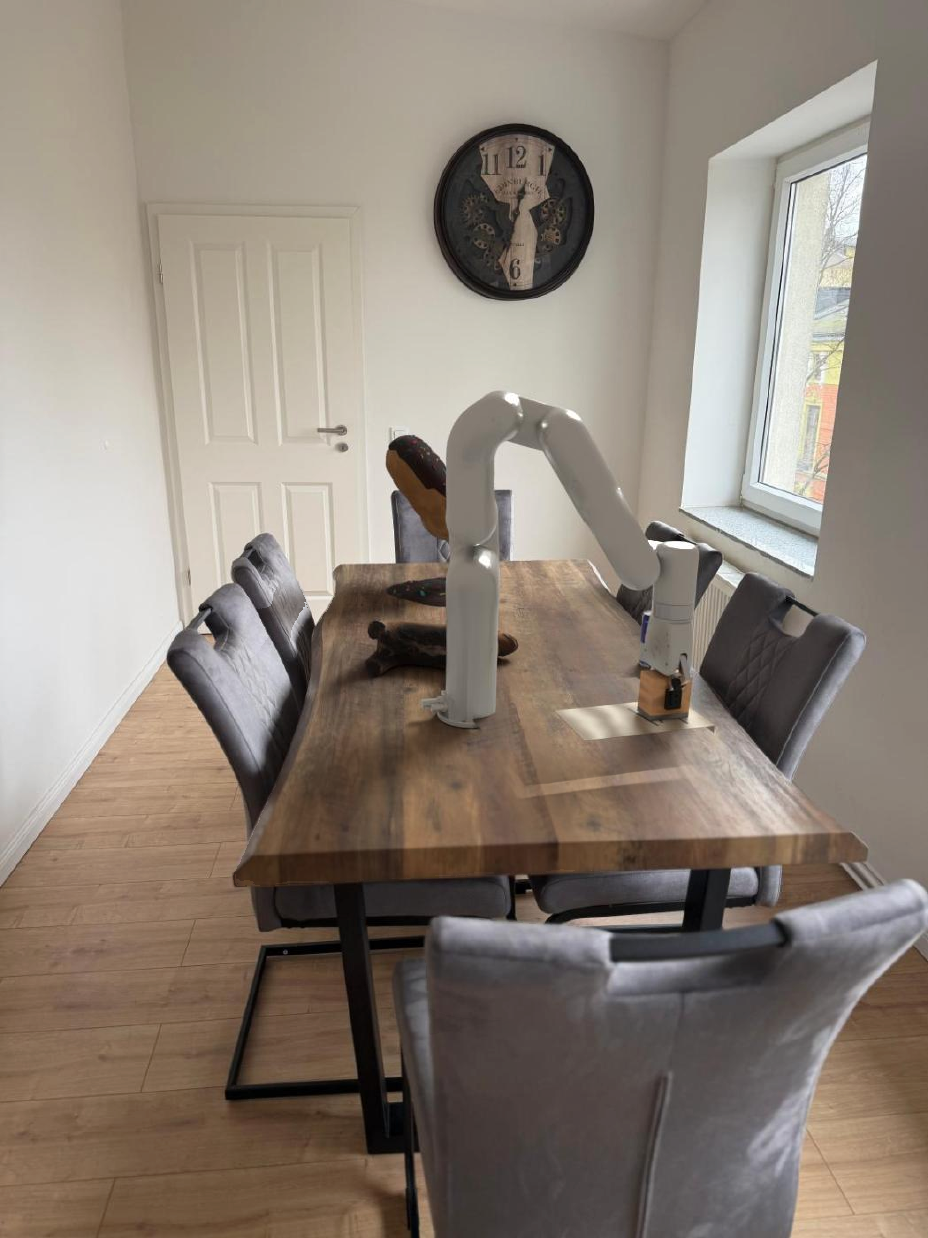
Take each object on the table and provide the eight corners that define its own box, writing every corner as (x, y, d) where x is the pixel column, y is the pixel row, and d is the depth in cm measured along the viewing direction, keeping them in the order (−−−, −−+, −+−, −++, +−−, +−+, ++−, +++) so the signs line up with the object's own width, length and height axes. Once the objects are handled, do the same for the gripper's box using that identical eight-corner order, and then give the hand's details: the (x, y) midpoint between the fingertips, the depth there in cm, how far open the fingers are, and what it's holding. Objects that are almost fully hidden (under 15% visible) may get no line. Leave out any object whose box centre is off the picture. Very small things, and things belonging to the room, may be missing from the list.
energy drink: (645, 669, 193) (649, 617, 190) (634, 661, 198) (638, 610, 194) (667, 667, 194) (671, 615, 191) (655, 659, 199) (660, 609, 196)
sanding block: (649, 720, 161) (653, 679, 159) (637, 710, 165) (640, 670, 163) (688, 717, 163) (692, 676, 161) (674, 707, 168) (678, 668, 165)
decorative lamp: (460, 575, 275) (462, 429, 262) (508, 600, 247) (513, 438, 234) (370, 583, 263) (368, 431, 250) (409, 611, 234) (409, 441, 222)
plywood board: (584, 748, 153) (584, 740, 153) (553, 718, 166) (554, 710, 165) (714, 733, 160) (715, 725, 160) (675, 705, 173) (675, 697, 173)
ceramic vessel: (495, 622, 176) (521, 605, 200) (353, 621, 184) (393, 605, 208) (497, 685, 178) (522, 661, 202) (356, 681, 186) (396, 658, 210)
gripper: (632, 599, 165) (625, 689, 170) (678, 624, 150) (669, 723, 155) (667, 597, 167) (660, 685, 173) (716, 621, 152) (706, 718, 157)
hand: (664, 702), depth 164 cm, fingers closed on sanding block, 5 cm apart
